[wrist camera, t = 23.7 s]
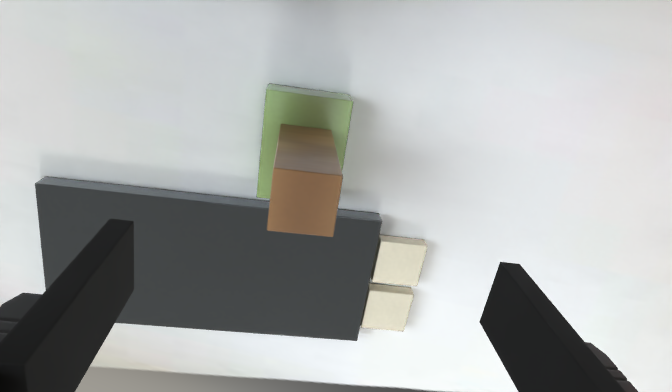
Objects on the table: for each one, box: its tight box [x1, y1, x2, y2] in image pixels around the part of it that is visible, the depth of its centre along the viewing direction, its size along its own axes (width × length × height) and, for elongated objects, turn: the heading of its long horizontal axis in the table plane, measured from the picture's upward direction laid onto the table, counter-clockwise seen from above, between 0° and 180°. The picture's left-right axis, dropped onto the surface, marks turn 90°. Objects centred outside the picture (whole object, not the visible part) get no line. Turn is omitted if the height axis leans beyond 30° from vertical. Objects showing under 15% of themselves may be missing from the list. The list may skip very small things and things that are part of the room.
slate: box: [35, 177, 382, 341], centre depth 38 cm, size 26×12×2 cm, turn 81°
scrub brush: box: [257, 84, 353, 237], centre depth 30 cm, size 6×8×12 cm
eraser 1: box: [371, 235, 427, 286], centre depth 39 cm, size 4×4×1 cm
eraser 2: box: [360, 283, 414, 332], centre depth 41 cm, size 4×4×1 cm
